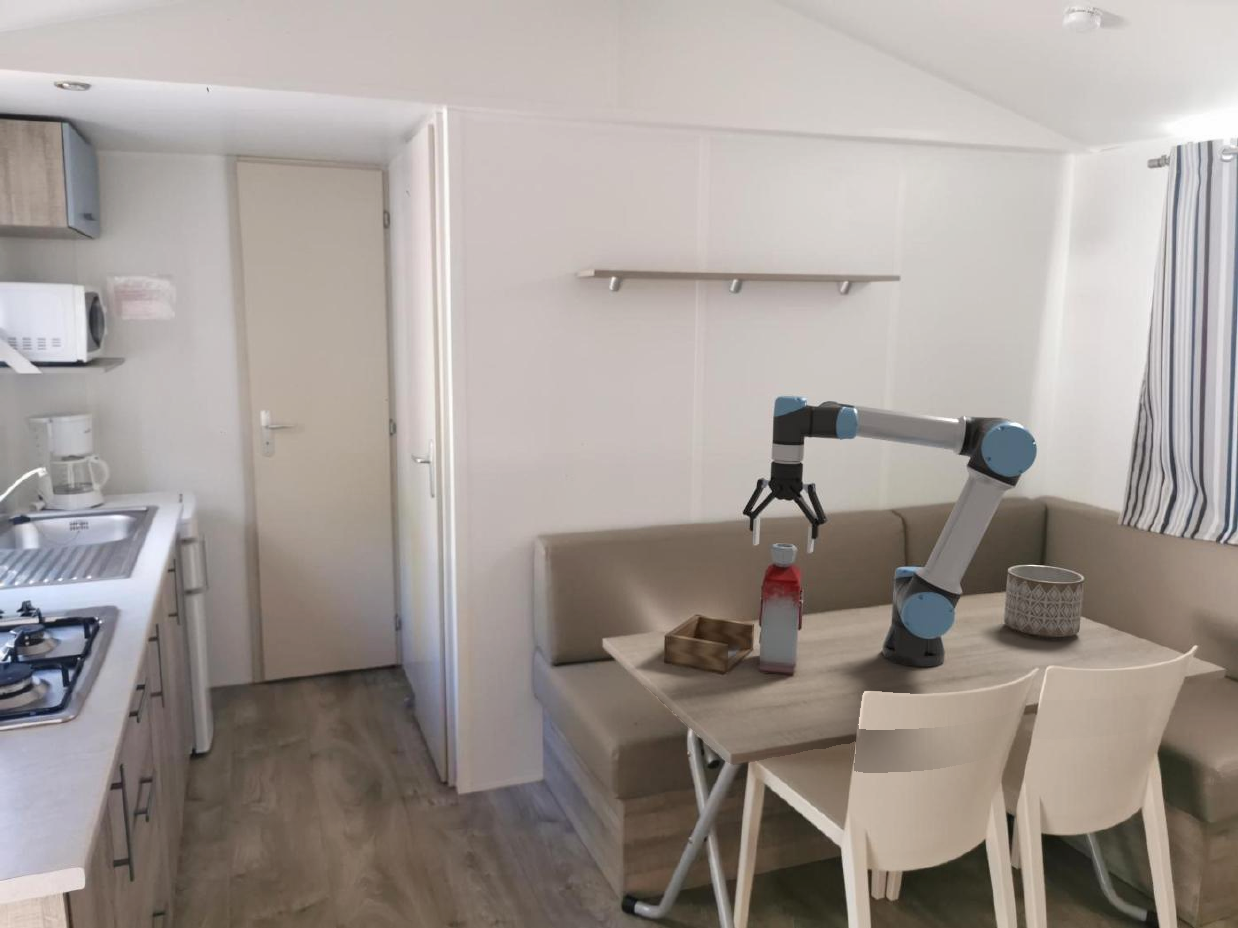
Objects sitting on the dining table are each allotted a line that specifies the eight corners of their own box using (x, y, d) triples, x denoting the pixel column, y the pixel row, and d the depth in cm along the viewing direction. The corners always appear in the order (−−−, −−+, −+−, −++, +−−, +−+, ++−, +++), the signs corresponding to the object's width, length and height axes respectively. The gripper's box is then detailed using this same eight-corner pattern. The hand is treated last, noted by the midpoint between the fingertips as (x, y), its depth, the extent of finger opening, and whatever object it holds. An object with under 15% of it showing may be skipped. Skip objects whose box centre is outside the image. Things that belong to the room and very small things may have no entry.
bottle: (799, 676, 235) (805, 553, 231) (755, 672, 237) (760, 550, 233) (800, 656, 249) (806, 540, 245) (759, 653, 251) (764, 537, 247)
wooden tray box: (753, 650, 253) (754, 623, 252) (725, 674, 236) (726, 646, 235) (695, 639, 261) (696, 614, 260) (663, 662, 243) (664, 635, 242)
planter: (1083, 628, 277) (1089, 571, 275) (1073, 647, 261) (1078, 586, 259) (1011, 616, 287) (1015, 561, 285) (996, 633, 271) (1001, 575, 269)
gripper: (843, 464, 234) (837, 551, 237) (743, 454, 245) (739, 538, 248) (834, 468, 227) (829, 558, 230) (732, 458, 238) (728, 544, 241)
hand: (782, 548), depth 239 cm, fingers open, 13 cm apart
